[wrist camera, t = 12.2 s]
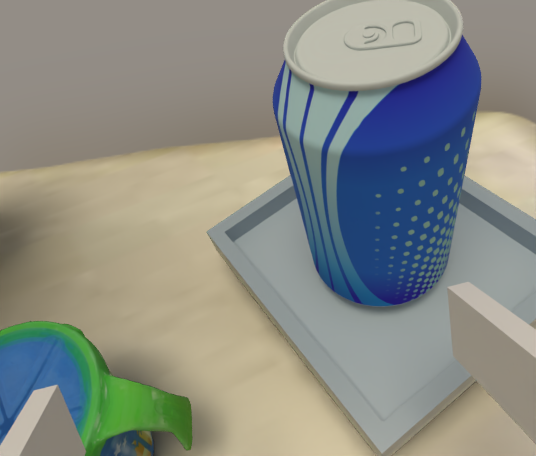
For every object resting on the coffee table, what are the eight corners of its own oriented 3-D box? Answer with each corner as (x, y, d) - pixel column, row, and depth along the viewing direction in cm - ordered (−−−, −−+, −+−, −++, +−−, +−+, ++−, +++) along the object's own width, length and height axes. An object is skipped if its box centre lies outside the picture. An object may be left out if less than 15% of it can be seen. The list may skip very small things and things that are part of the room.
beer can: (389, 344, 25) (386, 137, 13) (290, 264, 30) (218, 57, 18) (474, 250, 28) (543, -3, 15) (370, 190, 32) (356, -40, 20)
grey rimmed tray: (227, 268, 35) (206, 231, 31) (375, 163, 39) (373, 119, 35) (383, 470, 25) (382, 453, 21) (572, 303, 28) (601, 260, 24)
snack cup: (222, 370, 30) (163, 304, 22) (211, 559, 24) (123, 560, 16) (26, 386, 33) (-88, 332, 25) (-31, 560, 27) (-208, 561, 19)
